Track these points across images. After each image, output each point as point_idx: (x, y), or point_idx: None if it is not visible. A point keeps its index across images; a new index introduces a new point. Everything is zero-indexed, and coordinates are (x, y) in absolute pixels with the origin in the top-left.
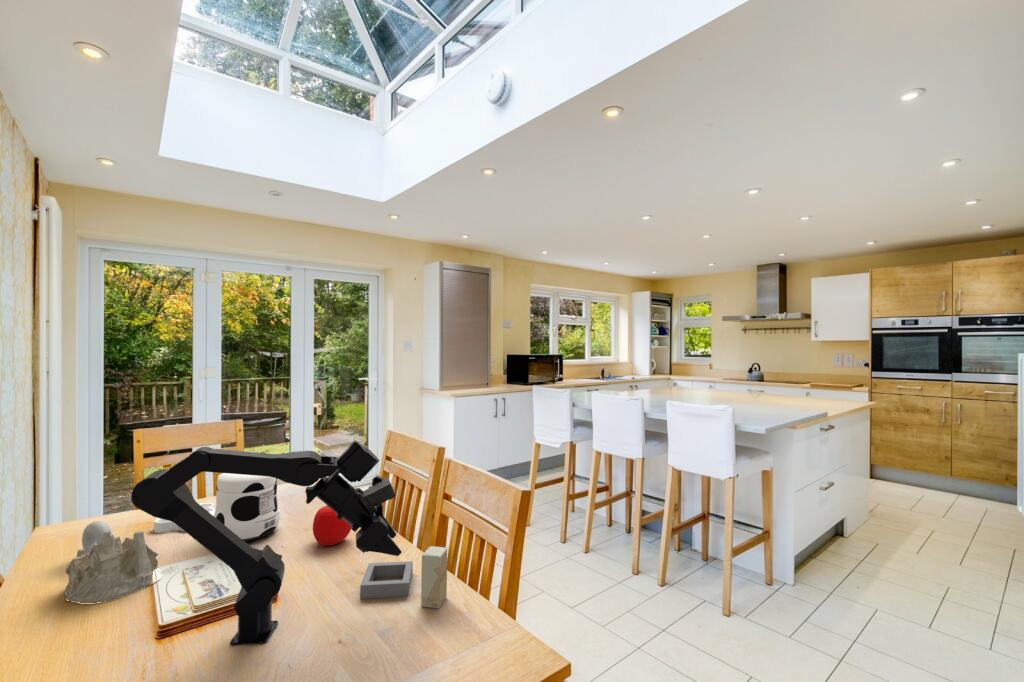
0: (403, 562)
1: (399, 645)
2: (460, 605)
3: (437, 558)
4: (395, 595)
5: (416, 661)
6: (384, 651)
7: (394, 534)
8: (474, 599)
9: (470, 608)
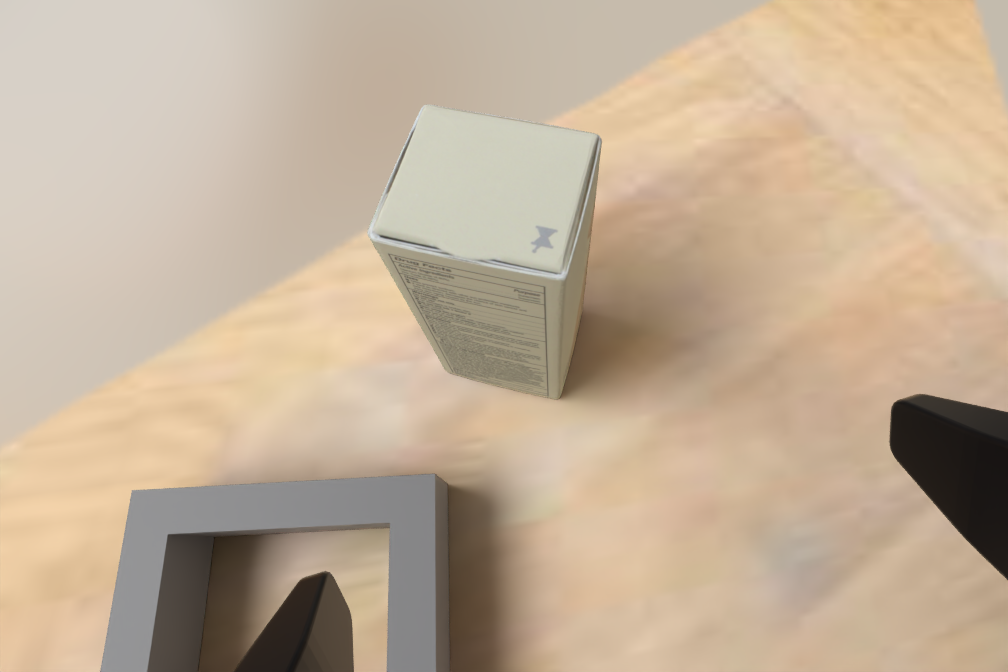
0: (134, 557)
1: None
2: None
3: (598, 161)
4: (446, 564)
5: (1000, 365)
6: None
7: (329, 601)
8: None
9: None
